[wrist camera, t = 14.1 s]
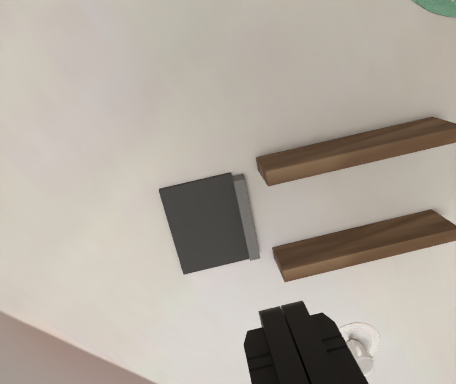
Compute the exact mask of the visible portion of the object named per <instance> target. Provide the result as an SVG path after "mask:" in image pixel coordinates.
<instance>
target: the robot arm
mask: <svg viewBox="0 0 456 384" xmlns="http://www.w3.org/2000/svg"><path fill="white" fill-rule="evenodd" d="M259 315H260V320H261V325H262V328H258V329H254V330H250V331H247V334H246V338H245V341H244V349H245V353H246V358H247V363H248V368H249V372H250V377H251V382H252V384H368V382H367V380H366V378H365V376H364V375H363V373H362V371H361V369H360V367H359V365H358V364H357V362H356V360H355V358H354V356H353V355H352V353H351V351H350V349H349V348H348V346H347V344H346V342H345V340H344V338H343V337H342V335H341V333H340V331H339V329H338V327H337V325H336V324H335V322H334V321H333V320H331V319H330V318H329V317H327V316H326V315H325V314H324V313H319V314H314V315H309V313H308V311H307V308H306V306H305V304H304V302H303V301H299V302H294V303H290V304H286V305H282V306H281V308H280V306H278V307H274V308H270V309H266V310H262V311H259Z"/></svg>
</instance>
